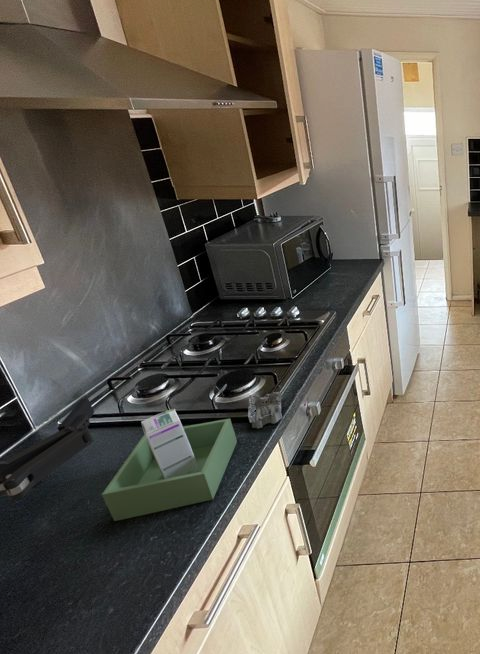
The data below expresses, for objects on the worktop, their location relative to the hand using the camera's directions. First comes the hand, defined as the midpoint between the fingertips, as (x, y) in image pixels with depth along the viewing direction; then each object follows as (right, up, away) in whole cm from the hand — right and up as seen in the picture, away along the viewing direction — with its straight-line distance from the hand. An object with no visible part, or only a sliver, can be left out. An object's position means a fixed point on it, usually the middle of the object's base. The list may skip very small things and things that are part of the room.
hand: (28, 417), depth 61 cm
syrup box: (0, -22, +28) cm, 36 cm away
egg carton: (+7, -16, +48) cm, 51 cm away
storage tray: (0, -23, +29) cm, 37 cm away
